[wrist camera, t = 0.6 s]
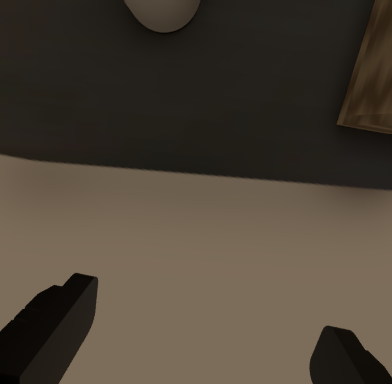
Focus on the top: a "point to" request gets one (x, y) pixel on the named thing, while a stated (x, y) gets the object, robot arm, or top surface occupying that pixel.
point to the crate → (372, 76)
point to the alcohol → (163, 13)
